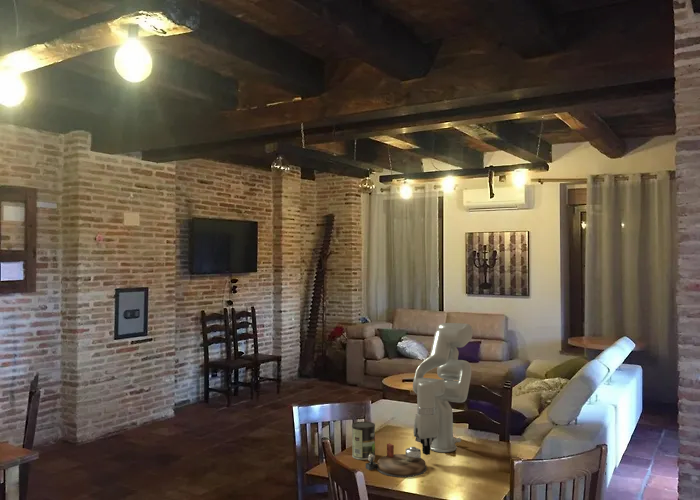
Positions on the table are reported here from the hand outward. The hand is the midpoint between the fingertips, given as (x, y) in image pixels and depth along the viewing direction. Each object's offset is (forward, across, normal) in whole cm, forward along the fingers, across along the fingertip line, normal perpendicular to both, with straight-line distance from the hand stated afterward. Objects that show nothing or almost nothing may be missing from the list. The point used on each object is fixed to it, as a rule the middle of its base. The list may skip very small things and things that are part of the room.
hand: (426, 453), depth 250 cm
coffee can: (+4, +19, -21) cm, 29 cm away
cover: (+1, +7, 0) cm, 7 cm away
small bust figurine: (+4, +24, -6) cm, 25 cm away
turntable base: (+4, +13, 0) cm, 13 cm away
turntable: (+4, +13, 0) cm, 13 cm away
